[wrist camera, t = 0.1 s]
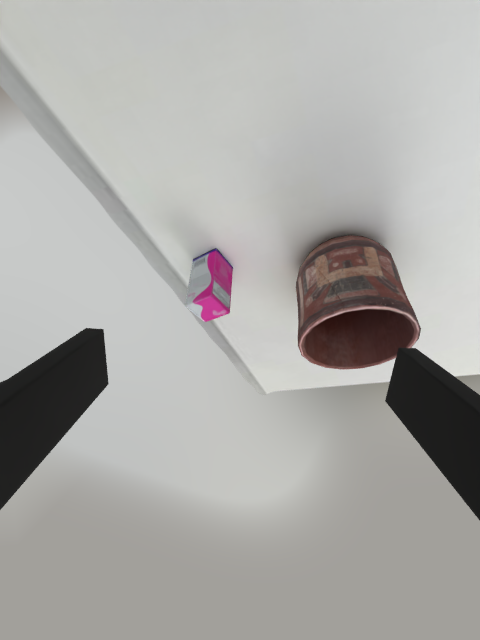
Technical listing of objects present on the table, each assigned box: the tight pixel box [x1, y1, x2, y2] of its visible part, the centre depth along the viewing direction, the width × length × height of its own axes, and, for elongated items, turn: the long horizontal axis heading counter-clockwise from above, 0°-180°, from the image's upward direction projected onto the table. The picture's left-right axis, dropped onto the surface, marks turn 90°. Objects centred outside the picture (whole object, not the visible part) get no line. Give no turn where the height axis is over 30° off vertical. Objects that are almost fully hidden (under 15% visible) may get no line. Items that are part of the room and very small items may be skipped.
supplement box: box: [185, 249, 233, 322], centre depth 54 cm, size 6×6×12 cm
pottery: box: [296, 235, 421, 369], centre depth 50 cm, size 18×18×18 cm
